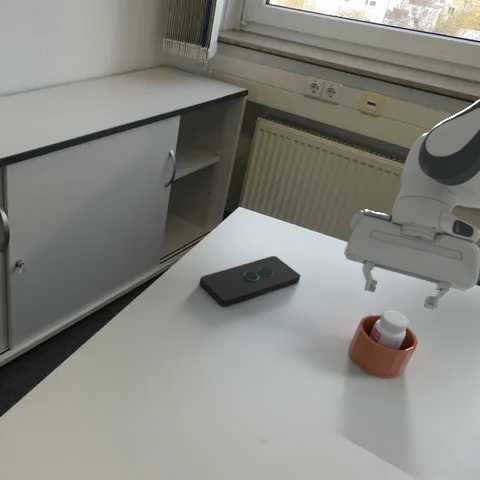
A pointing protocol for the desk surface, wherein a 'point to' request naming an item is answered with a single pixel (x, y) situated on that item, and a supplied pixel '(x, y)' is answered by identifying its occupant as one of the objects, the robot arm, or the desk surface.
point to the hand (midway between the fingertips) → (399, 299)
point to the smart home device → (249, 280)
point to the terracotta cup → (380, 351)
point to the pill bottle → (390, 329)
